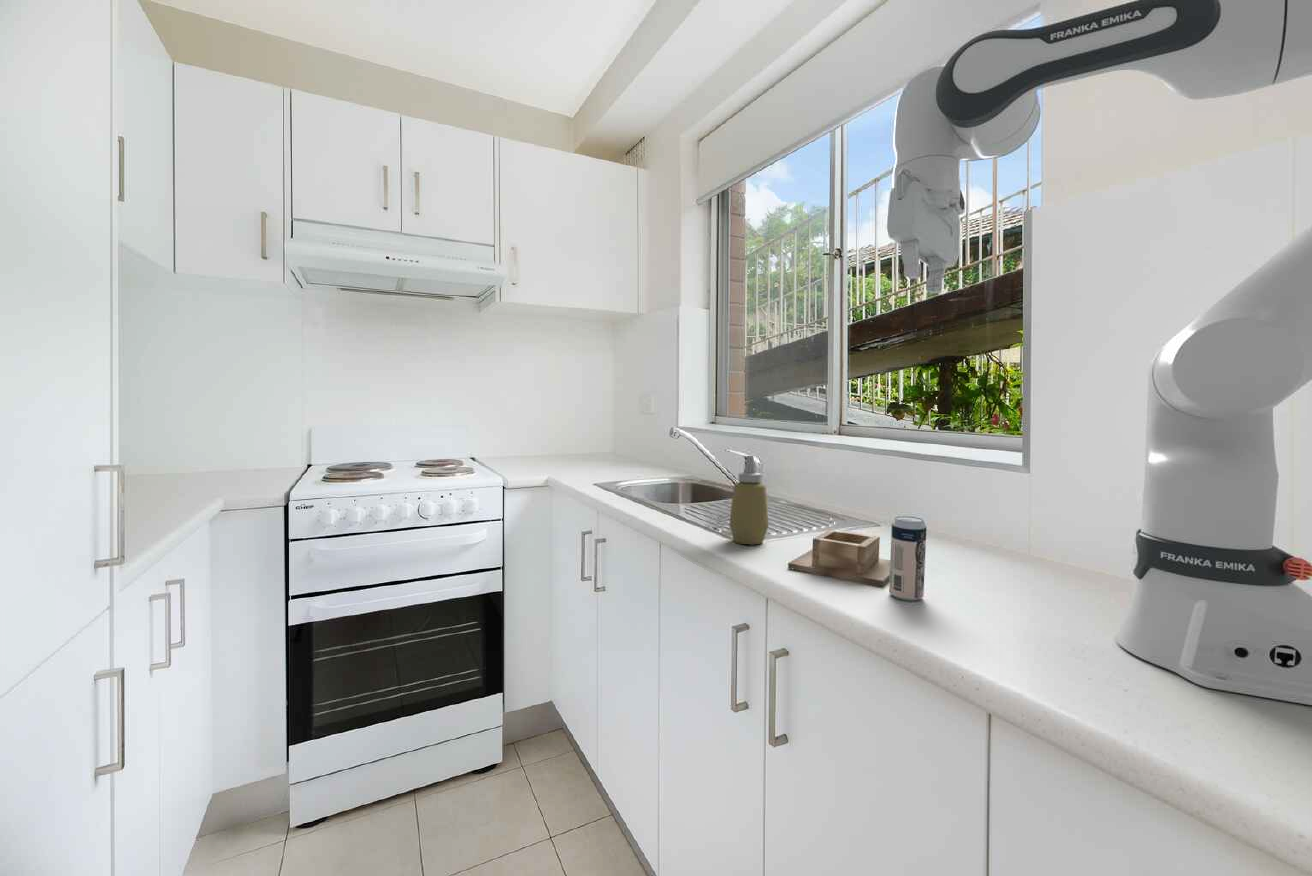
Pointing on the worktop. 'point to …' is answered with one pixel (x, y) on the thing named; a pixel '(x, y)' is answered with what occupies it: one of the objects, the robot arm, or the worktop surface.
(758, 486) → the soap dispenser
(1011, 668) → the worktop surface
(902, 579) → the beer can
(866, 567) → the can caddy
